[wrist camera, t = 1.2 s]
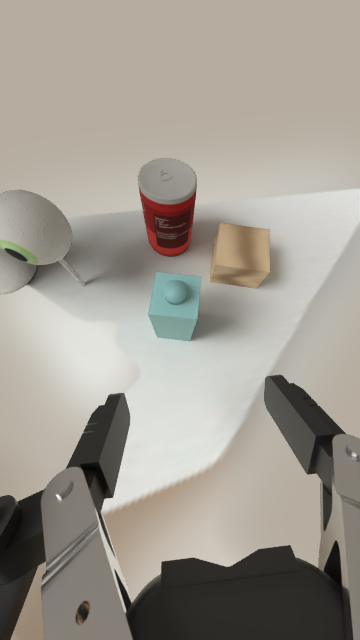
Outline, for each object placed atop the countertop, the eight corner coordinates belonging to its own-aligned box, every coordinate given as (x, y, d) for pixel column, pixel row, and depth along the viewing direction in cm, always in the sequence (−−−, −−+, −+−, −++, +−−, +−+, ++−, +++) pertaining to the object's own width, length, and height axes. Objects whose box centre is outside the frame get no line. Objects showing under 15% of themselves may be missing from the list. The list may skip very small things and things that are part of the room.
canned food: (168, 217, 36) (165, 149, 26) (199, 239, 34) (210, 177, 24) (139, 240, 34) (124, 176, 24) (171, 265, 32) (169, 209, 22)
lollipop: (54, 298, 30) (-57, 221, 16) (71, 262, 32) (-11, 166, 18) (96, 307, 29) (22, 237, 15) (111, 270, 32) (59, 179, 17)
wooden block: (209, 282, 32) (215, 264, 27) (213, 244, 34) (219, 222, 30) (255, 289, 32) (270, 272, 27) (256, 250, 34) (269, 229, 29)
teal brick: (157, 337, 28) (146, 310, 18) (162, 307, 30) (154, 266, 19) (189, 341, 28) (198, 316, 18) (192, 310, 30) (202, 271, 19)
